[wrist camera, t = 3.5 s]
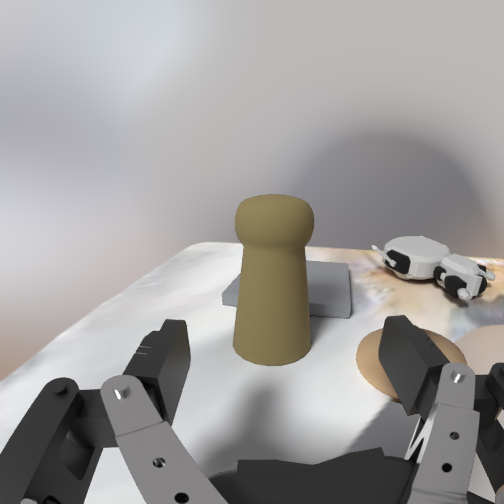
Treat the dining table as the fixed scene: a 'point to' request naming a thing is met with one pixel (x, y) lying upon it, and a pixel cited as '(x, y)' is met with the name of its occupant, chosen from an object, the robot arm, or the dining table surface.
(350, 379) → the dining table surface
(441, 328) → the dining table surface
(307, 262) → the slate tile
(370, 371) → the cork coaster
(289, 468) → the robot arm
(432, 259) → the robot toy
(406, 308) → the dining table surface
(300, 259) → the pepper shaker
